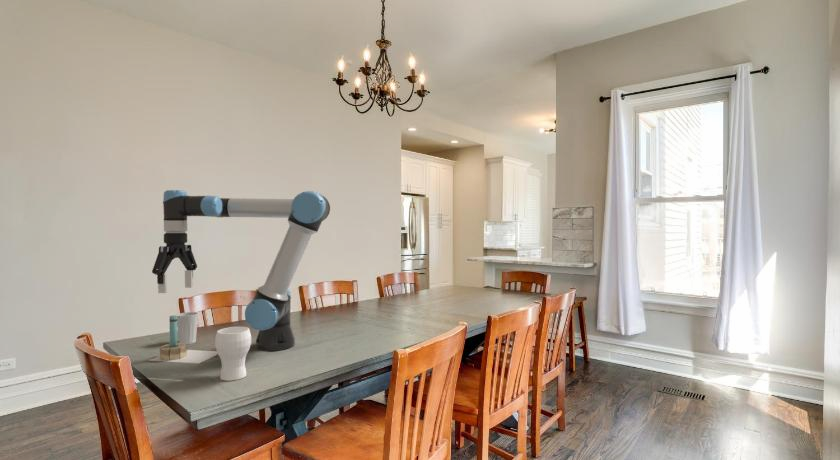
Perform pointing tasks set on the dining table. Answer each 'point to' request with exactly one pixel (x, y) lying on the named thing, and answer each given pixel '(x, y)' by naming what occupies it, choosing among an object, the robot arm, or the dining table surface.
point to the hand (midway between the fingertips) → (176, 290)
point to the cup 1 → (187, 327)
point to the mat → (192, 357)
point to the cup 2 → (233, 351)
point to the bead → (173, 352)
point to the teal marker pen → (173, 331)
